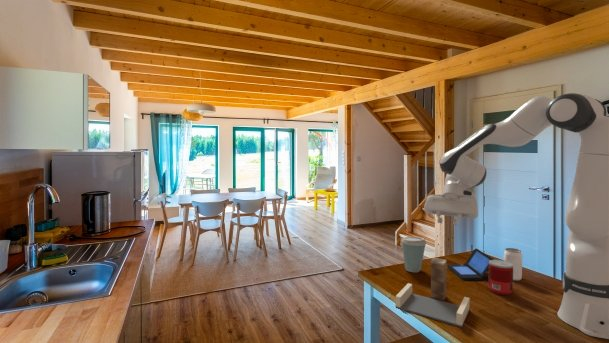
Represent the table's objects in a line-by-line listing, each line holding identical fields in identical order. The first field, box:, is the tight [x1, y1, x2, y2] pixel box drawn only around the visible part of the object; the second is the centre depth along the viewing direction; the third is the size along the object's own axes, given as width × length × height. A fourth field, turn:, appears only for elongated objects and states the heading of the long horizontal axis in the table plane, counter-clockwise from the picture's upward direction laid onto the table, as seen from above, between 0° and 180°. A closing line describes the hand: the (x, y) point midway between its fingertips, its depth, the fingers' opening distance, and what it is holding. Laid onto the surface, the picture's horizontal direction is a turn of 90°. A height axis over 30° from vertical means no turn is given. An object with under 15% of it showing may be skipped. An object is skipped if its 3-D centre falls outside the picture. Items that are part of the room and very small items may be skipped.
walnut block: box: [430, 257, 448, 301], centre depth 116 cm, size 4×4×14 cm
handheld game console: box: [447, 248, 495, 281], centre depth 138 cm, size 16×13×9 cm
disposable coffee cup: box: [401, 236, 427, 273], centre depth 142 cm, size 11×11×15 cm
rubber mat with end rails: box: [395, 282, 471, 328], centre depth 107 cm, size 21×13×4 cm, turn 53°
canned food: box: [487, 259, 514, 296], centre depth 120 cm, size 8×8×11 cm
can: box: [503, 247, 523, 281], centre depth 132 cm, size 6×6×12 cm
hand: (447, 223), depth 124 cm, fingers open, 4 cm apart
